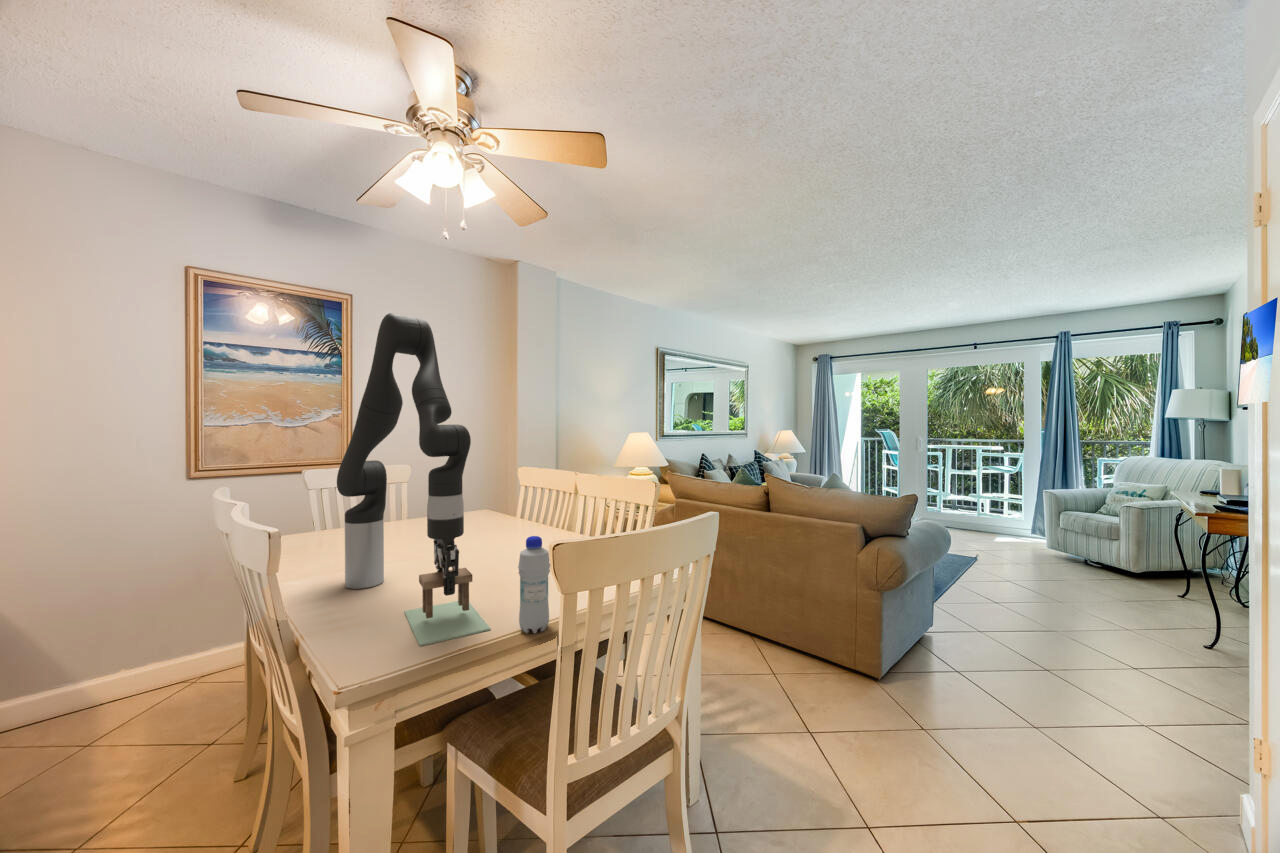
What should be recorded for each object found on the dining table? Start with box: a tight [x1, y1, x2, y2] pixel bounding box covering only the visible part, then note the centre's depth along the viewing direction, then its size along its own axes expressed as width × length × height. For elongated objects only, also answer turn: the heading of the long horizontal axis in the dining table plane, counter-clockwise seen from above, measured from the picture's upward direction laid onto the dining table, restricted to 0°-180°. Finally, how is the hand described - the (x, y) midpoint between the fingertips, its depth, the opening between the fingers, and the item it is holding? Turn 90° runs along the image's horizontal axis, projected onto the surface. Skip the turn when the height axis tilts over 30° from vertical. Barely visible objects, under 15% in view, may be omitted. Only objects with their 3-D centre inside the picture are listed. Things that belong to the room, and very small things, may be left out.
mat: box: [403, 600, 491, 647], centre depth 110 cm, size 20×14×1 cm
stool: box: [418, 567, 473, 618], centre depth 110 cm, size 10×6×8 cm, turn 123°
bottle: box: [517, 535, 551, 634], centre depth 106 cm, size 7×7×20 cm
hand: (445, 589), depth 110 cm, fingers closed on stool, 6 cm apart
